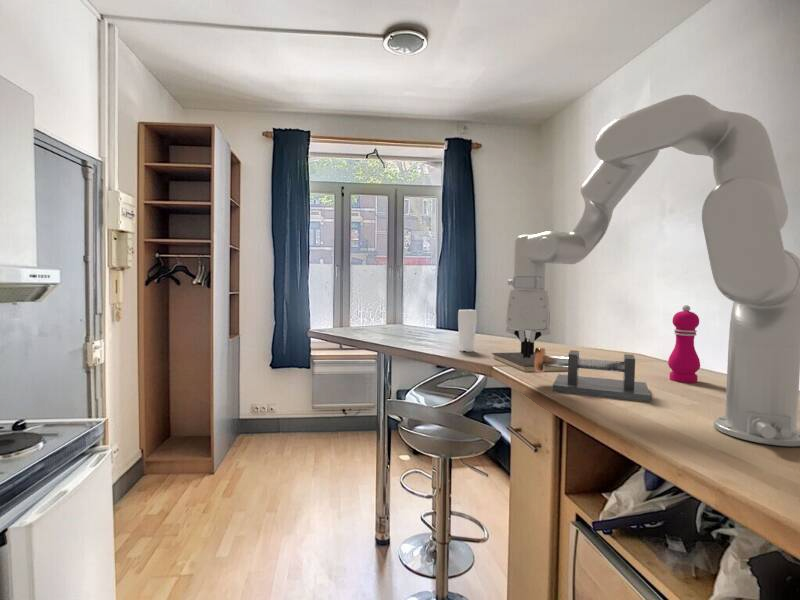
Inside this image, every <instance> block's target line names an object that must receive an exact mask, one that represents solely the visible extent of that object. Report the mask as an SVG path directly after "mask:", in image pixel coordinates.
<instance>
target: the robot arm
mask: <svg viewBox="0 0 800 600" xmlns="http://www.w3.org/2000/svg"><path fill="white" fill-rule="evenodd" d="M765 127H766V126H764V124H762V122H761V121H759V120H758V119H757V118H755V117H753V115H752V116H751V115H749V114H746V113H744V112H743V113H742V112H735V111H729V110H728V111H727V110H722V109H720V108H718V107H717V106H715V105H714V104H712V103H710V102H709V101H708V100H706V99H705V98H703V97H702V96H698V95H695V94H682V95H677V96H672V97H670V98H666V99H664V100H661V101H659V102H655V103H653V104H651V105H648V106H646V107H643V108H641V109H637V110H635V111H632V112H630V113H628V114H625V115H622V116H620V117H619V118H616V119H614V120H612V121H611V122H609V123H607V125H605V126H604V127H603V128H602V129H601V130H600V132H599V134H598V135H597V137H596V139H595V142H594V152H595V155H596V157H597V158H598V159H600V161H599V162H598V164H597V165H596V166H595V168H594V169H593V170H592V172H591V173H590V174H589V176H588V177H587V179H585V181H584V182H583V183H582V185H581V186H580V195H581V196H582V198H583V201H584V211H583V212H582V216H581V217H580V219H579V221H578V222H577V224H576V225H575V226H574V227H573V228H572V229H571V231H570V232H564V231H556V230H549V231H548V230H547V231H544V232H540V233H537V234H522V235H521V234H520V235H518V236H517V237H516V238H515V240H514V241H515V242H514V259H513V260H514V261H513V263H514V264H513V266H514V267H513V268H514V270H513V278H512V279H508V280H507V285H508V286H512V287H513V289H510V291H509V294H508V298H507V299H508V301H507V308H506V309H507V310H506V329H505V331H506V333H508V334H511V335H514V336H516V338H518V340H519V341H520V352H521V354H523V358H526V357H527V358H531V355H534V352H535V341H536V340H537V339H539V338H540V337H544V336H549V335H551V329H550V322H551V318H550V317H551V316H550V315H551V312H550V310H551V309H550V297H549V292H548V290H547V289H546V265H547V264H553V265H554V264H556V265H558V264H559V265H560V264H561V265H576V264H578V263H580V262H581V261H583V260H584V259H586V257H588V255H590V254H591V252H592V251H593V250H594V249H595V247H596V246H597V245H598V244H599V243H600V242H601V241H602V239H603V238H604V236H605V234H606V233H607V230H608V228H609V226H610V222H611V220H612V218H613V217H612V216H613V212H614V209H616V207H617V205H618V204H619V203H620V202H621V201H622V200H623V198H624V197H625V196H626V195H627V193H629V191H630V190H631V189H632V188H633V186H634V185H635V184H636V183H637V181H638V180H640V178H641V177H642V176H643V174H645V172H646V171H647V170H648V168H650V166H652V164H653V162H654V161H655V159H656V158H657V156H658V155H659V152H660V150H664V149H666V148H667V149H668V148H671V147H672V148H674V149H676V150H678V151H681V152H684V153H685V154H689V155H694V156H705V157H709V158H711V160H712V162H713V164H712V165H713V166H712V167H713V169H712V170H713V176H714V181H715V184H716V186H715V187H714V188H712V190H711V191H710V192H709V194H708V195H707V196H706V198H705V200H704V201H703V204H702V210H701V222H702V223H701V224H702V229H703V234H704V238H705V245H706V249H707V255H708V259H709V264H710V265H709V266H710V270H711V274H712V278H713V280H714V283H715V286H716V288H717V289H718V291H719V292H720V294H722V295H723V297H725V298H726V299H728V300H730V301H731V302H732V308H731V314H730V321H729V322H730V323H729V334H728V335H729V336H728V345H727V347H728V348H727V349H728V350H727V368H726V369H727V370H726V371H727V372H726V373H727V375H726V388H725V389H726V392H725V412H724V413H725V416H720V417H716V418H715V419H714V421H713V427H714V428H715V429H716V430H717V431H718V432H721V433H723V434H725V435H729V436H730V437H734V438H736V439H741V440H744V441H748V442H753V443H758V444H764V445H768V446H769V445H770V446H778V447H779V446H780V447H800V429H799V428H798V414H799V413H798V410H799V394H800V393H799V391H800V258H799V256H797V255H796V254H794V252H792V251H789V250H788V249H785V248H784V242H783V238H782V234H781V230H782V229H783V228H784V226H785V224H786V222H787V220H788V216H789V208H788V207H789V206H788V202H787V199H786V196H785V193H784V190H783V185H782V180H781V176H780V173H779V168H778V164H777V162H776V158H775V154H774V151H773V146H772V142H771V139H770V136H769V134H768V131H767V128H765ZM526 331H530V334H529V339H528V338H527V334H526Z"/></svg>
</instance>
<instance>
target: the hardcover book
mask: <svg viewBox="0 0 800 600" xmlns="http://www.w3.org/2000/svg"><path fill="white" fill-rule="evenodd" d="M491 354H492V355H493V359H495V360H496V359H497V361H499V362H501V363H503V364H506V365H508V366H510V367H513V368H515V369H518V370H520V371H522V372H524V373H525V372H535V370H534V355H535V351H534V355H531V358H527V357H526V358H523V354H521V351H519V352H492V353H491ZM557 371H558V372H559V371H560V372H561V371H563V372H564V371H565V372H568V367H560V366H549V365H545V370H544V372H557Z"/></svg>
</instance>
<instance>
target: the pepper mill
mask: <svg viewBox="0 0 800 600" xmlns="http://www.w3.org/2000/svg"><path fill="white" fill-rule="evenodd" d="M690 310H691V307H690V306H689V304H688V305H687V304H685V305H683V306H682V311H678V312H675V314H674V315H673V316H672V324H673V326H674V327H675V329H674V332H673V334H674V335H675V344H674V348H673V350H672V352H670V353H671V354H670V355H669V357H668V361H667V365H668V367H669V368H670V369H671V371H670V372H669V379H670V380H671V381H674V382H679V383H685V384H686V383H687V384H688V383H689V384H694V383H698V378H699V377H698V374H697V372H698V371H699V370H700V368H701V361H700V357H699V355H698V353H697V351H696V349H695V337H696V336H697V331H698V330H696V328H697V327H699V325H700V317H699V315H698V314H697V313H695V312H693V311H690Z"/></svg>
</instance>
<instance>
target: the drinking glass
mask: <svg viewBox="0 0 800 600" xmlns="http://www.w3.org/2000/svg"><path fill="white" fill-rule="evenodd" d="M477 311H478V310H477V309H458V312H457V328H458V329H457V330H458V342H459V344H458V345H459V347H458V349H459V351H460V352H463V351H466V353H471V352H474V351H475V340H476V331H477V321H478V313H477Z"/></svg>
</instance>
